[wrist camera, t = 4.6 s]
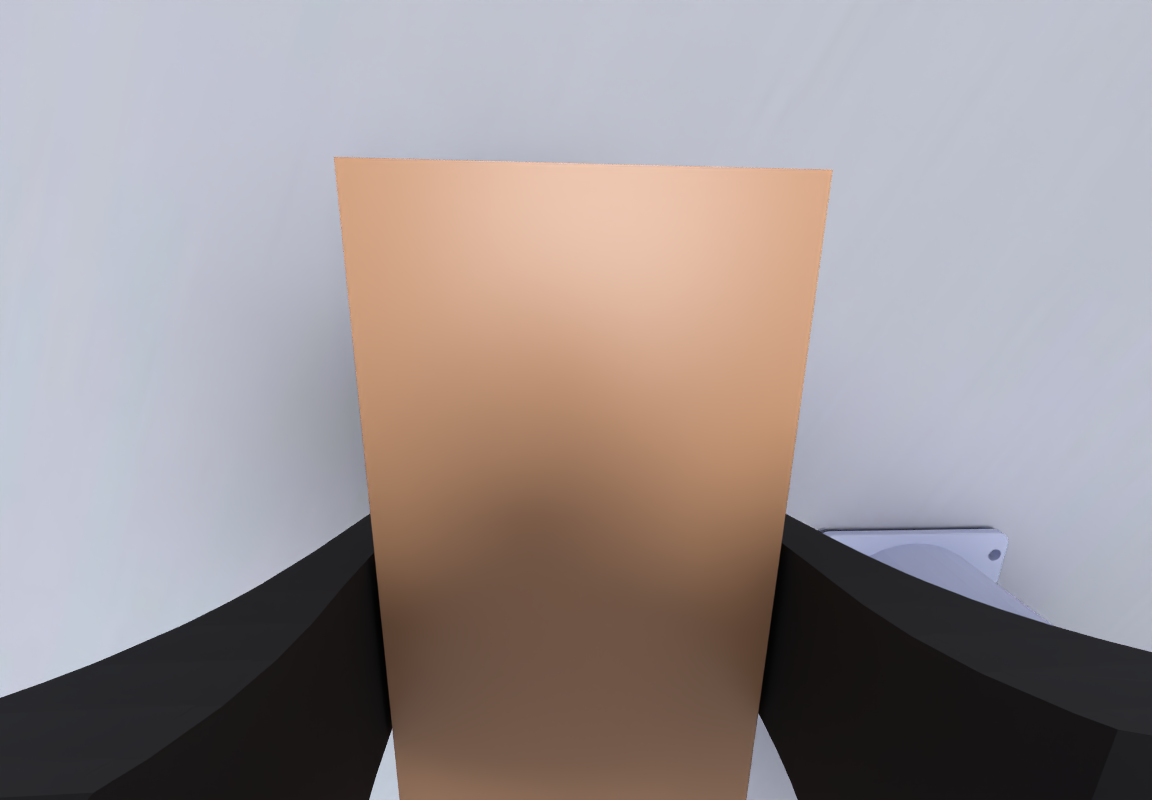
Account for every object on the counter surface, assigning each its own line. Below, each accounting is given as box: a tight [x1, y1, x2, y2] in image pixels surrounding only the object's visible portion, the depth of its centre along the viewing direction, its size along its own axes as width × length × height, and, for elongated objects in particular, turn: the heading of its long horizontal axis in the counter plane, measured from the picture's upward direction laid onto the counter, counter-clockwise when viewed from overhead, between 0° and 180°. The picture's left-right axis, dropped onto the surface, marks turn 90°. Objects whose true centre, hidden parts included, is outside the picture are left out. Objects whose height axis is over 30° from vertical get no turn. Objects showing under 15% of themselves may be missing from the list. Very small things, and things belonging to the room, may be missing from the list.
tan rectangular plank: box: [334, 157, 833, 800], centre depth 9 cm, size 13×5×4 cm, turn 179°
